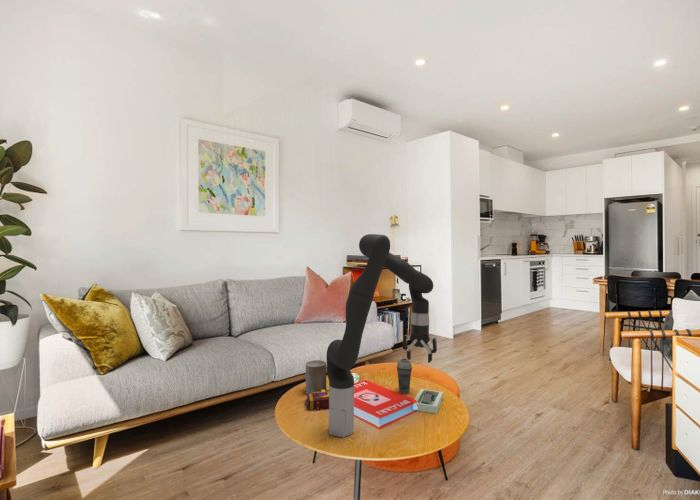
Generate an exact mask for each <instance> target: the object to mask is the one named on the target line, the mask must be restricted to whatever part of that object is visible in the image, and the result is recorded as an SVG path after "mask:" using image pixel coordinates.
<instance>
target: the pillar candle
mask: <svg viewBox="0 0 700 500" xmlns="http://www.w3.org/2000/svg"><path fill="white" fill-rule="evenodd" d="M323 389H325V390H327V361H326V360H316V359H315V360H309V361H307V362H305V392H306V391H321V390H323Z"/></svg>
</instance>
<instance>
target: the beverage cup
mask: <svg viewBox="0 0 700 500" xmlns="http://www.w3.org/2000/svg"><path fill="white" fill-rule="evenodd" d="M403 350H404V349H403V348H401V356H402V358H401V359H399V360H398V361H397V364H396V371H397V381H398V392H399V393H400V392H401V393H405V394H404V395H407V394H406V393H408V394H409V393H410V390H411V389H410V388H411V387H410V386H411V377H412V370H413V366H412V362H411V361H410V360H408V358H404V351H403ZM401 393H400V394H401Z"/></svg>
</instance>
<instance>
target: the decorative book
mask: <svg viewBox="0 0 700 500" xmlns="http://www.w3.org/2000/svg"><path fill="white" fill-rule="evenodd" d="M305 394H306V397H307V398H305V400H304V404H306V407H307V410H308V411H316V412H317V411H321V410H329V389H326V390H325V389H323V390H321V391H306V390H305Z"/></svg>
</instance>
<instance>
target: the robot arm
mask: <svg viewBox="0 0 700 500" xmlns="http://www.w3.org/2000/svg"><path fill="white" fill-rule="evenodd" d="M358 248H359V251H360V253H361V254H362V255H363V256H364V257H366V258H368V260H367V262H366V265H365V268H364V270H362V272H361V273H360V275H359V276H357V278H356V279H355V281H354V282H353V283H352V285H351V287H350V289H349V292H348V295H347V298H346V301H345V302H346V303H345V328H344V329H345V330H344V334H343V336H342V339H335V340H332V341H331V342H330V343H329V344H328V346H327V350H326V377H327V379H328V390H329V409H328V435H329V436H334V437H338V438H345V437H347V436H350V435H352V434H354V431H355V377H354V375H353V373H352V372H351V369H352V368H354V366H355V364H356V363H357V361H358V358H359V353H360V350H361V349H360V348H361V344H362V338H363V333H364V330H365V326H366V323H367V320H368V315H369V313H370V309H371V306H372V303H373V300H374V296H375V292H376V288H377V286H378V283H379V280H380V277H381V273H382V271H383V269H384V268H385V269H387V270H388V271H390V272H391V273H393V275H395V276H396V277H398V278H399V279H400V280H401V281H403V283H405V284H408V291H409V295H410V299H411V320H410V322H411V323H410V325H411V326H410V335H408V334H404V336H403V341H402V349H403V350H406V359H407V360H409V361H410V360H411V359H412V348H413V347H416V348H419V347H420V348H424V349H425V351H427V353H428V354H427V363H428V364H429V363H431V362H432V361H433V354H436V353H437V351H438V349H437V348H438V347H437V342H438V341H437V338H436V337H430V314H429V313H430V302H429V300H428V299H427V298H424V297H423V294H429V293H431V292H433V289H434V282H433V280H432V279H431V277H429V275H427V274H425V273H423V272H421V271H419V270H417V269H416V268H415V267H413V265H411V264H410V263H408V262H407V261H406V260H404V259H403V258H401V257H399V256H397V255H394V254H393V253H392V252H390V251H391V241H390V237H388V236H387V235H386V234H379V233H378V234H377V233H376V234H375V233H374V234H373V233H371V234H370V233H369V234H365V235H363V236H362V237H361V238H360V239H359V243H358ZM409 340H410V341H411V343H410V345H409V346H408V341H409ZM429 342H430V343H431V344H432V347H431V346H430V345H429Z"/></svg>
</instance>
